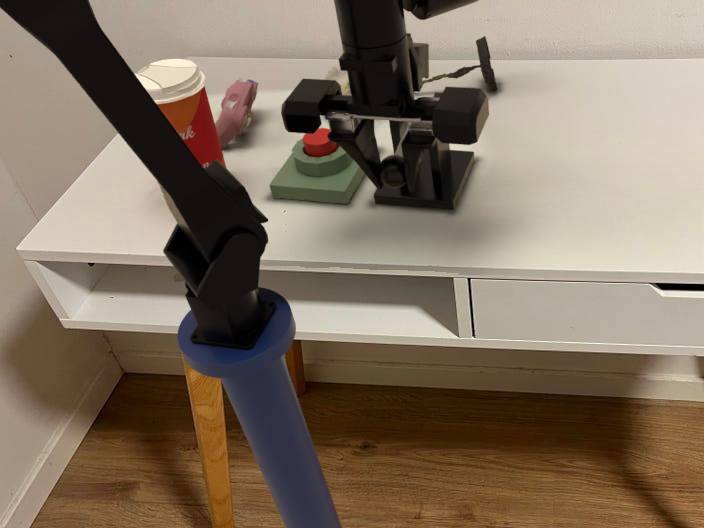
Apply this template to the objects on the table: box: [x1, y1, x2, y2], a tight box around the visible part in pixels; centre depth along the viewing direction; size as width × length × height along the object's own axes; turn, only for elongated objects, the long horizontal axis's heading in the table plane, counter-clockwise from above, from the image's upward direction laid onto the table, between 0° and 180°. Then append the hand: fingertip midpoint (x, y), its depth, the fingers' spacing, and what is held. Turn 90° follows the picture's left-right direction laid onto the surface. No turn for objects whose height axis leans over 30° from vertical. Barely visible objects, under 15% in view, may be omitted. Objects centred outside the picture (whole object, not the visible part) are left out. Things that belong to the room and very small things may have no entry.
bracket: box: [373, 91, 475, 211], centre depth 86 cm, size 10×9×10 cm
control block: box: [269, 137, 378, 205], centre depth 90 cm, size 11×9×4 cm
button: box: [302, 127, 337, 157], centre depth 89 cm, size 4×4×2 cm
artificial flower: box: [322, 35, 498, 96], centre depth 100 cm, size 9×22×10 cm, turn 96°
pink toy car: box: [214, 76, 259, 148], centre depth 98 cm, size 10×5×7 cm, turn 179°
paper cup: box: [133, 58, 228, 170], centre depth 86 cm, size 8×8×14 cm
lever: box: [378, 121, 409, 188], centre depth 81 cm, size 12×3×3 cm, turn 167°
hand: (397, 188), depth 79 cm, fingers closed on lever, 3 cm apart
